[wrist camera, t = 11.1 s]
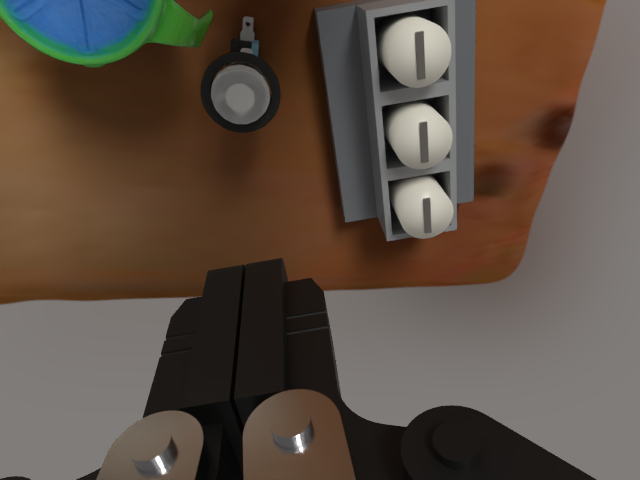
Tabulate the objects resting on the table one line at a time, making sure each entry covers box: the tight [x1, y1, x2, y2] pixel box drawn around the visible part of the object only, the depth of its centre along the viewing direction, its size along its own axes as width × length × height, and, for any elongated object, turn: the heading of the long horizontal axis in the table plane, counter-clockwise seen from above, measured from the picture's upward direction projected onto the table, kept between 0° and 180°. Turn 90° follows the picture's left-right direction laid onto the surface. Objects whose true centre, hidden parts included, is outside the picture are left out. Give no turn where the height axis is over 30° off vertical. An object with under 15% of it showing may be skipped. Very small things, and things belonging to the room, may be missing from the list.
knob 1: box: [375, 12, 451, 88], centre depth 35 cm, size 4×4×6 cm
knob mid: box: [382, 99, 453, 169], centre depth 38 cm, size 4×4×6 cm
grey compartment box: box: [314, 0, 476, 241], centre depth 41 cm, size 18×12×8 cm, turn 8°
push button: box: [201, 16, 280, 132], centre depth 37 cm, size 7×5×10 cm
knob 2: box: [388, 174, 454, 239], centre depth 41 cm, size 4×4×6 cm
